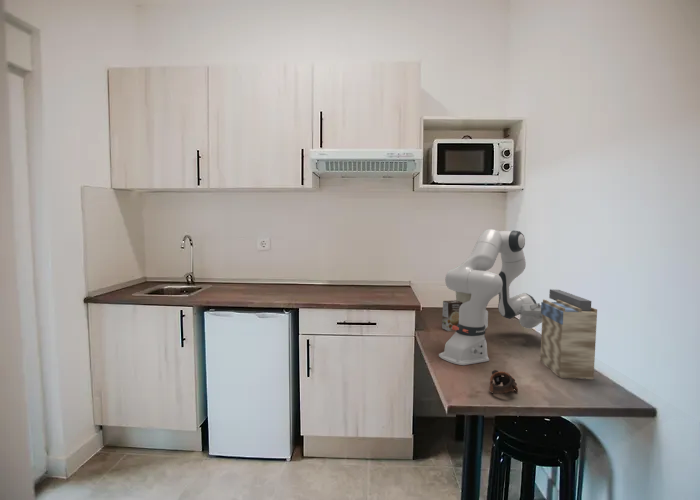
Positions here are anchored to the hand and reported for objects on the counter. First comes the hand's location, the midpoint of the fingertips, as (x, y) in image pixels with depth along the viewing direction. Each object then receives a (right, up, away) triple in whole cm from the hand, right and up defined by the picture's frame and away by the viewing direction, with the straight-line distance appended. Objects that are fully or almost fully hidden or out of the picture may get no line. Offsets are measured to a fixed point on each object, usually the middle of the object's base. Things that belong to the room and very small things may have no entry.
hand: (548, 305), depth 170 cm
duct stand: (-5, -23, -22) cm, 32 cm away
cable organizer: (-22, -19, +41) cm, 51 cm away
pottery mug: (-40, -24, -42) cm, 63 cm away
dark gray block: (-2, +3, -18) cm, 18 cm away
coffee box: (-36, -19, +36) cm, 54 cm away
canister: (-15, -18, +70) cm, 74 cm away
